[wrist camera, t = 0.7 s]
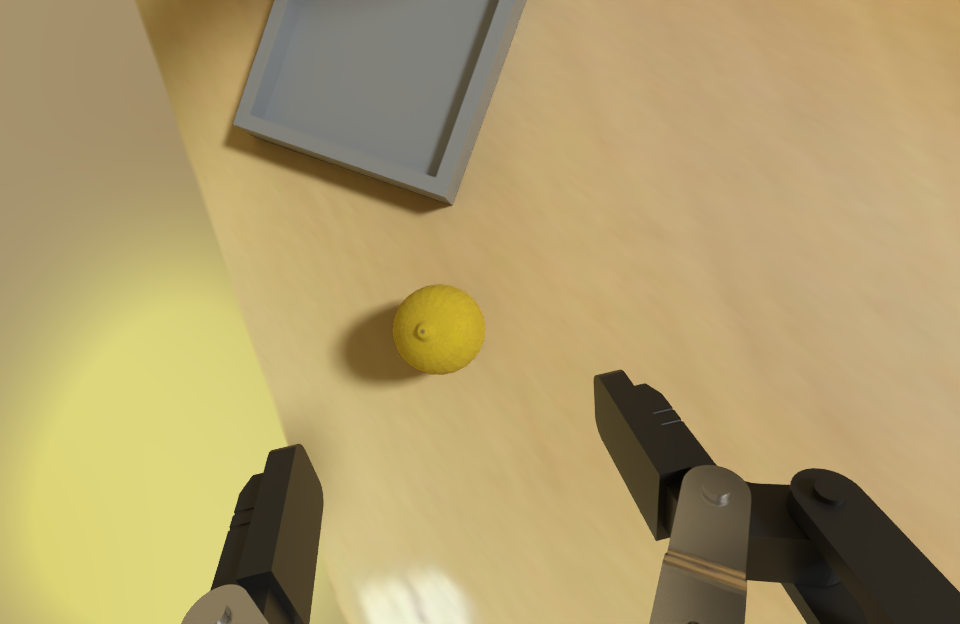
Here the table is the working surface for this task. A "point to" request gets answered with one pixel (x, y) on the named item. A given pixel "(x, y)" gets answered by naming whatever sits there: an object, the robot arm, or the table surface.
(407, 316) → the lemon
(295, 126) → the tray
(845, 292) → the table surface
